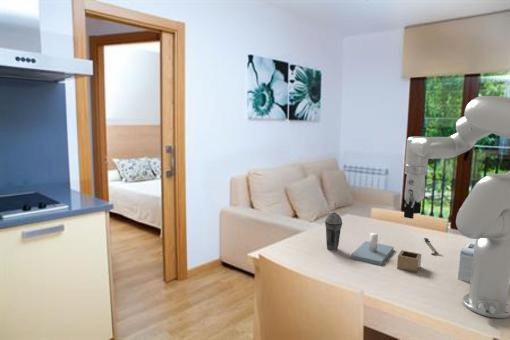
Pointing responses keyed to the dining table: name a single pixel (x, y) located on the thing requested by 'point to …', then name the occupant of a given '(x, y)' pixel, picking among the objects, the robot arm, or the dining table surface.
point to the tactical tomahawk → (431, 247)
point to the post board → (372, 251)
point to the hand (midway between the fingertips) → (412, 215)
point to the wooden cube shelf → (409, 261)
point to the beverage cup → (333, 230)
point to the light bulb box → (466, 262)
